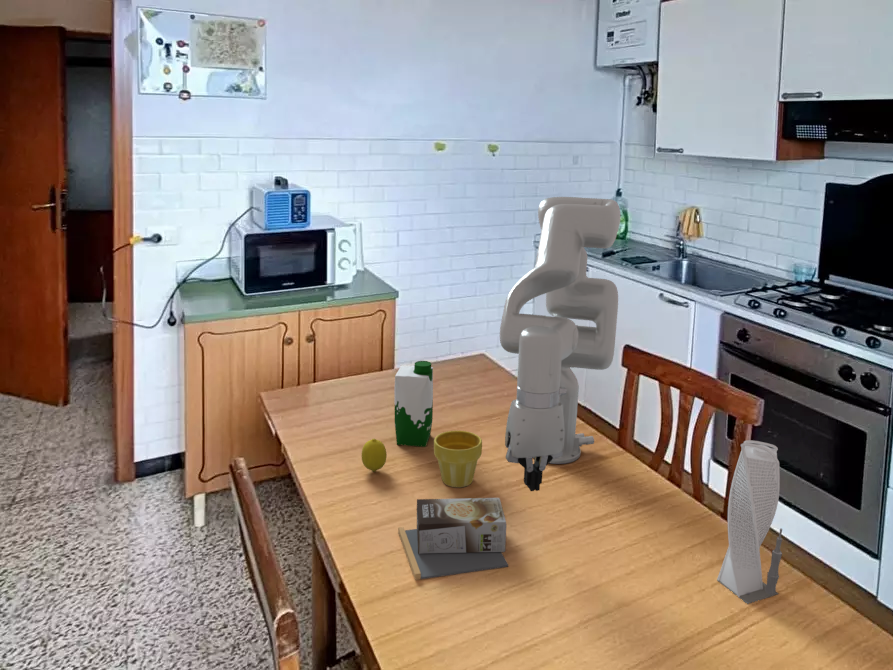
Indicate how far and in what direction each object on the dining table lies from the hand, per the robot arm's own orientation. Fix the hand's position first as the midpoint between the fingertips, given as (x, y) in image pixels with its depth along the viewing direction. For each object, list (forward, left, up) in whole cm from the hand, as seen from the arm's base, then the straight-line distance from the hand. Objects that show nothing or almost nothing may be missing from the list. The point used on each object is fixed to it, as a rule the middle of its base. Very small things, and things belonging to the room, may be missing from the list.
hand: (532, 487), depth 136 cm
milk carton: (+12, -47, -11) cm, 50 cm away
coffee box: (+5, 0, -7) cm, 9 cm away
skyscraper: (-31, +22, -11) cm, 39 cm away
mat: (+15, 0, -11) cm, 18 cm away
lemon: (+24, -33, -11) cm, 42 cm away
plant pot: (+7, -25, -11) cm, 28 cm away
